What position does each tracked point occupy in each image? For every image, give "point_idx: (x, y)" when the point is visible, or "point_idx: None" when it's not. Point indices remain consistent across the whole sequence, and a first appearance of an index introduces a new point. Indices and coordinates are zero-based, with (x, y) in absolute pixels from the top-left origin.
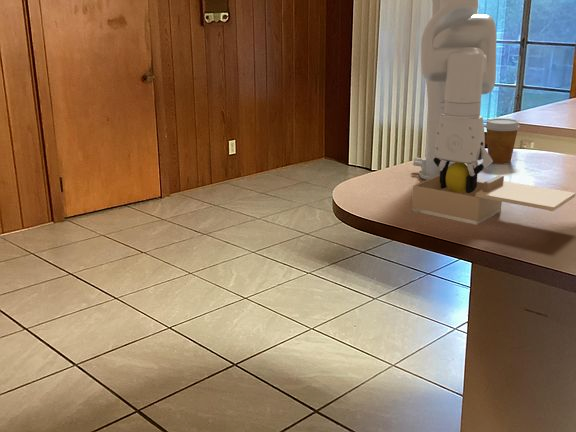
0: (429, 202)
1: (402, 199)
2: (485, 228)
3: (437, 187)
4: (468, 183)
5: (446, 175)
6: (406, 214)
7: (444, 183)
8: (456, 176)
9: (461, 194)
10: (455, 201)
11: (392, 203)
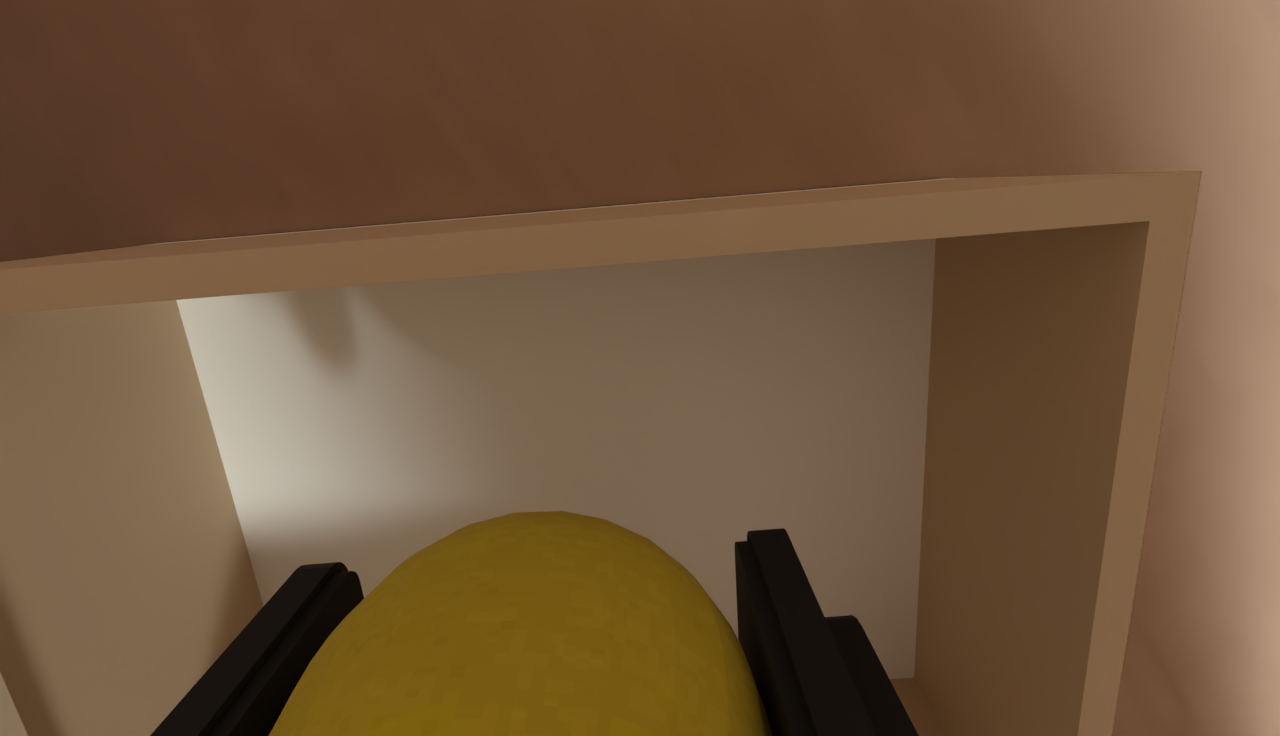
0: (755, 198)
1: (1214, 452)
2: (38, 204)
3: (968, 734)
4: (221, 670)
5: (699, 684)
6: (937, 25)
7: (749, 604)
8: (373, 676)
9: (155, 278)
10: (323, 236)
11: (1256, 268)
